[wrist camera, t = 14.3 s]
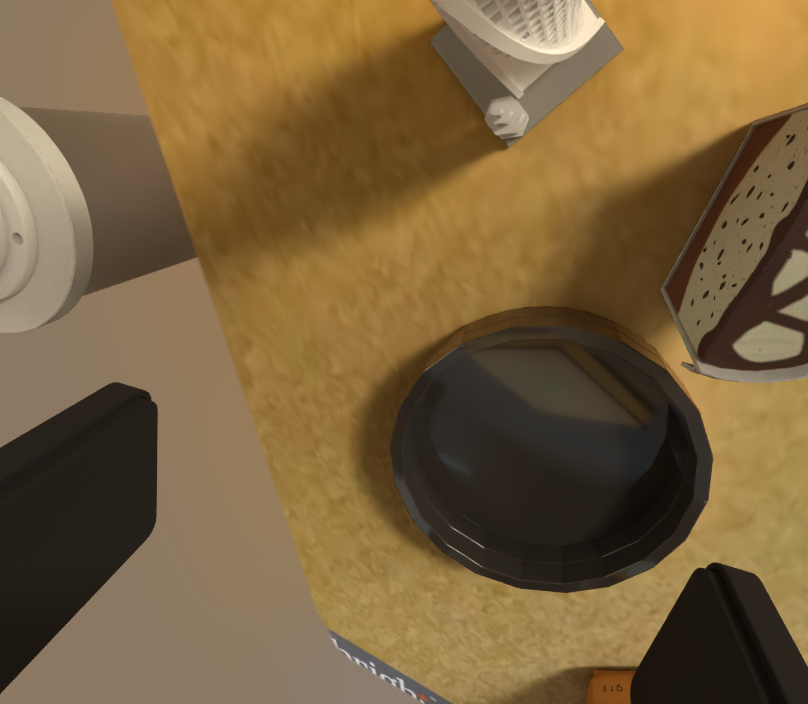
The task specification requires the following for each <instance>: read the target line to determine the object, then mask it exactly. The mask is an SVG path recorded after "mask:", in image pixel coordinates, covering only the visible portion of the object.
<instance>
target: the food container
mask: <svg viewBox="0 0 808 704" xmlns="http://www.w3.org/2000/svg"><path fill="white" fill-rule="evenodd" d="M660 290H661V292H662V295H663V297H664V299H665V301H666V303H667V306H668V308H669V310H670V312H671V314H672V317H673V319H674V321H675V323H676V325H677V328H678V330H679V332H680V334H681V336H682V339H683V341H684V343H685V345H686V347H687V350H688V352H689V354H690V356H691V358H692V361H693V363H694V365H692V364H689V363H685V362H682V364H681V365H682V366H683V367H685V368H687V369H688V370H690V371H692V372H694V373H697V374H701V375H704V376H708V377H711V378H716V379H722V380H728V381H735V382H747V383H773V382H783V381H792V380H798V379H802V378H807V377H808V103H806V104H803V105H800V106H797V107H794V108H791V109H788V110H785V111H782V112H779V113H776V114H773V115H770V116H767V117H764V118H761V119H758V120H755V121H754V122H753V124H752V126H751V127H750V129H749V131H748V133H747V135H746V136H745V138H744V140H743V142H742V144H741V145H740V147H739V149H738V151H737V153H736V154H735V156H734V158H733V160H732V162H731V163H730V165H729V167H728V169H727V171H726V172H725V174H724V176H723V178H722V180H721V181H720V183H719V185H718V187H717V189H716V190H715V192H714V194H713V196H712V198H711V199H710V201H709V203H708V205H707V207H706V208H705V210H704V212H703V214H702V216H701V217H700V219H699V221H698V223H697V225H696V226H695V228H694V230H693V232H692V234H691V235H690V237H689V239H688V241H687V243H686V244H685V246H684V248H683V250H682V252H681V253H680V255H679V257H678V259H677V261H676V262H675V264H674V266H673V268H672V270H671V271H670V273H669V275H668V277H667V279H666V280H665V282H664V284H663V286H662V288H661V289H660Z"/></svg>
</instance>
